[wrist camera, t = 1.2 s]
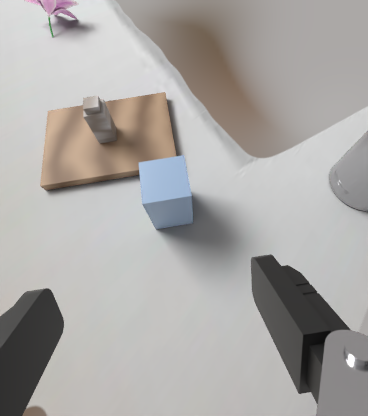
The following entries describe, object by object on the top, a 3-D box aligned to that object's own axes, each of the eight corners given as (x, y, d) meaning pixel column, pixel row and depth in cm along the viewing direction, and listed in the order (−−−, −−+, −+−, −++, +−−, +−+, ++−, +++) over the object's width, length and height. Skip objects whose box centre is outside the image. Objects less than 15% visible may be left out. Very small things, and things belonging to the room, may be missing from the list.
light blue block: (187, 190, 37) (184, 155, 28) (193, 223, 35) (191, 195, 26) (152, 195, 37) (138, 162, 28) (155, 229, 34) (142, 203, 26)
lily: (93, 36, 56) (82, -20, 50) (42, 37, 49) (22, -27, 43) (70, 36, 62) (58, -13, 56) (22, 37, 55) (3, -19, 50)
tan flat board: (166, 98, 45) (159, 54, 37) (178, 168, 38) (173, 133, 31) (52, 117, 44) (21, 76, 37) (46, 190, 38) (6, 160, 30)
